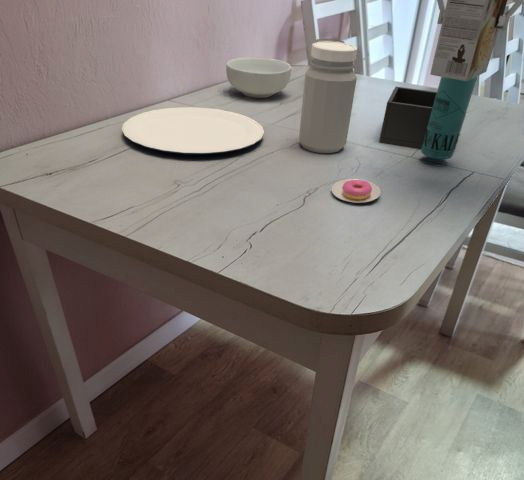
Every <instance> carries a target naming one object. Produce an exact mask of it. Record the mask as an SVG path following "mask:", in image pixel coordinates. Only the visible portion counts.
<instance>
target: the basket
mask: <svg viewBox="0 0 524 480" xmlns="http://www.w3.org/2000/svg"><path fill="white" fill-rule="evenodd" d="M436 94H437V91H432V90H425V89H418V88H412V87H411V88H409V87H402V86H394V89H393V90H392V92H391V94H390V96H389V97H388V100H387V102H386V106H385V110H384V115H383V120H382V125H381V131H380V135H379V139H378V142H379V143H382V144H389V145H395V146H402V147H408V148H413V149H420V150H421V148H422V146H421V145H423V144H422V142H423V140H424V139H423V138H424V137H425V135H424V134H426V131H425V130H427V126H428V123H429V122H428V121H429V119H430V117H429V116H430V114H431V111H432V108H433V104H434V102H433V101H434V99H435V97H436V96H435V95H436Z"/></svg>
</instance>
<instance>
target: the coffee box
mask: <svg viewBox="0 0 524 480" xmlns="http://www.w3.org/2000/svg"><path fill="white" fill-rule="evenodd" d="M507 4H508V0H446V4H445V13H444V17H443V21H442V24H440V30H439V34H438V39H437V43H436V48H435V51H434V56H433V59H432V60H433V61H432V65H431V69H430V75H431V76H435V77H440V78H441V77H445V78H451V79H457V80H462V81H469V80H471V79H473V78H475V77H477V78H478V77H479V76H480V75H483V74H485V73H487V71H488V67H489V64H490V60H491V57H492V54H493V50H494V47H495V44H496V41H497V37H498V34H499V31H500V30H499V29H496V25H497V22H498V18H499V15H500V14H504V13H505V10H506V6H507Z"/></svg>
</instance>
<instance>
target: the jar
mask: <svg viewBox="0 0 524 480" xmlns="http://www.w3.org/2000/svg"><path fill="white" fill-rule="evenodd" d="M357 55H358V48H357V47H356V46H355V45H354V44H351V43H346V42H345V43H340V42H328V41H325V42H316V41H315V42H313V43H312V44H311V51H310V56H311V57H312V60H310V61H309V63H310V66H309V67H308V69H307V70H306V71H305V74H304V83H303V94H302V103H301V115H300V124H299V135H298V140H299V142H300V144H301V146H302V148H303V149H305V150H307V151H309V152H313V153H318V154H334V153H338V152H340V150H342V149H343V148H344V147H345V146H346V145H347V139H348V135H349V128H350V121H351V117H352V110H353V103H354V99H355V90H356V84H357V79H358V77H357V75H356V73H355V71H354V69H355V68H356V65H355V64H354V61H356V60H357Z"/></svg>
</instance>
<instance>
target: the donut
mask: <svg viewBox="0 0 524 480" xmlns="http://www.w3.org/2000/svg"><path fill="white" fill-rule="evenodd" d="M373 182H374V180H372V181H369V180H365V179H362V178H361V179H360V178H347V179H342V180H339V181H337V182H335V183H333V185H332V186H331V193H332V194H333V196H335V197H336V198H338V199H339V200H340V201H341V200H342V201H344V202H347V203H348V202H349V203H353V204H362V203H363V204H364V203H369V202H372V201H375V200H376V199H378V198H379V197H380V196H381V191H382V190H381V188H380V187H379V186H378V185H377V184H375V183H373Z"/></svg>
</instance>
